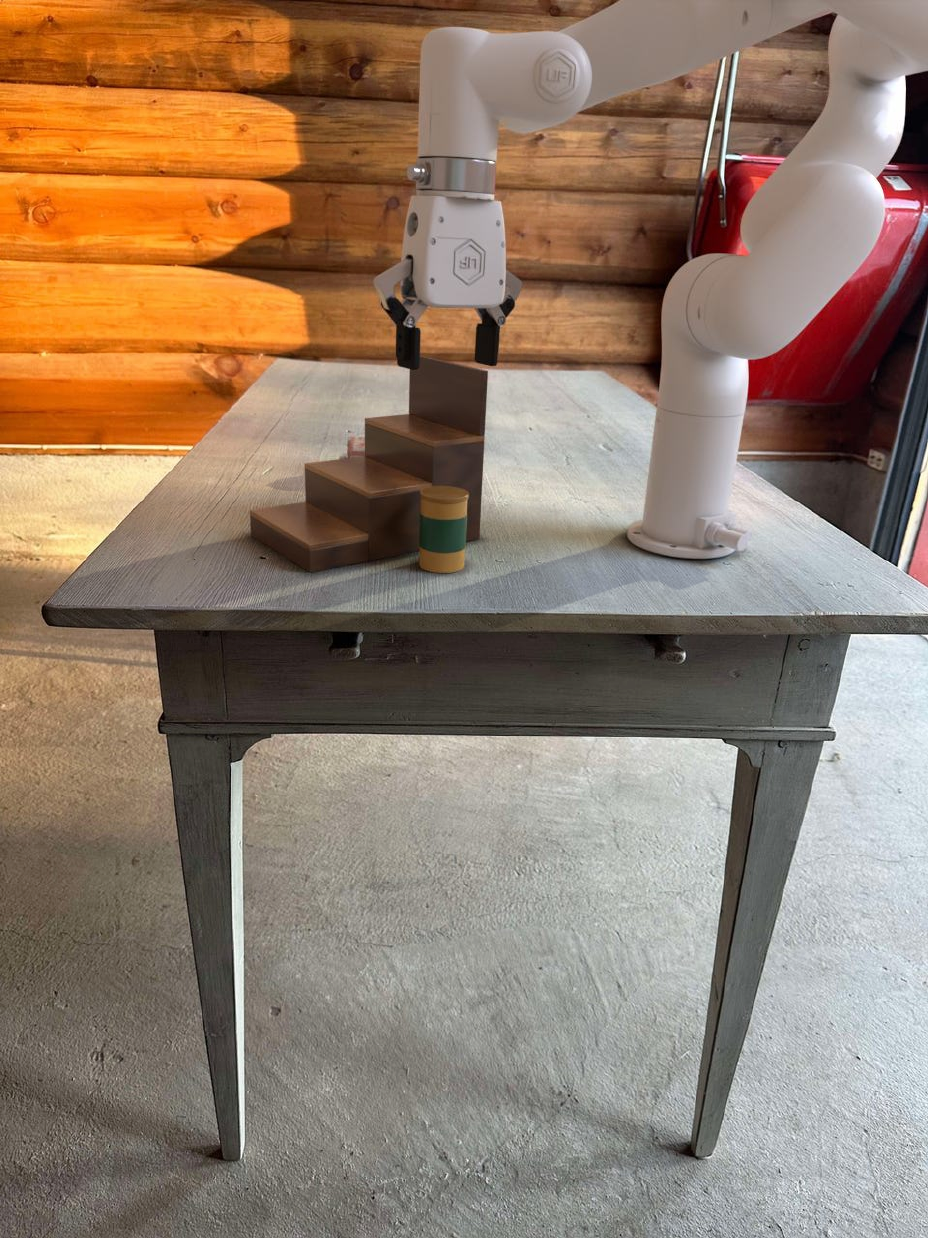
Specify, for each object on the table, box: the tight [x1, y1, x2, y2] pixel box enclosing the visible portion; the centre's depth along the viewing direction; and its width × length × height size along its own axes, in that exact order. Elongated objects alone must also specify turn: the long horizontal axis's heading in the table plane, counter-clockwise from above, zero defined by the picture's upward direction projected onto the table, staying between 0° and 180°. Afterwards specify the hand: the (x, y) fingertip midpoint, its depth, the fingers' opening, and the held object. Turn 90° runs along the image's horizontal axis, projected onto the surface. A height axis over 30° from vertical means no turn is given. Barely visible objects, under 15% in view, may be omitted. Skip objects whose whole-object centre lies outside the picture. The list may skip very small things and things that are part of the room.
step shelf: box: [249, 354, 489, 573], centre depth 101 cm, size 22×14×19 cm, turn 127°
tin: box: [418, 486, 469, 574], centre depth 95 cm, size 5×5×8 cm
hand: (447, 365), depth 94 cm, fingers open, 9 cm apart
